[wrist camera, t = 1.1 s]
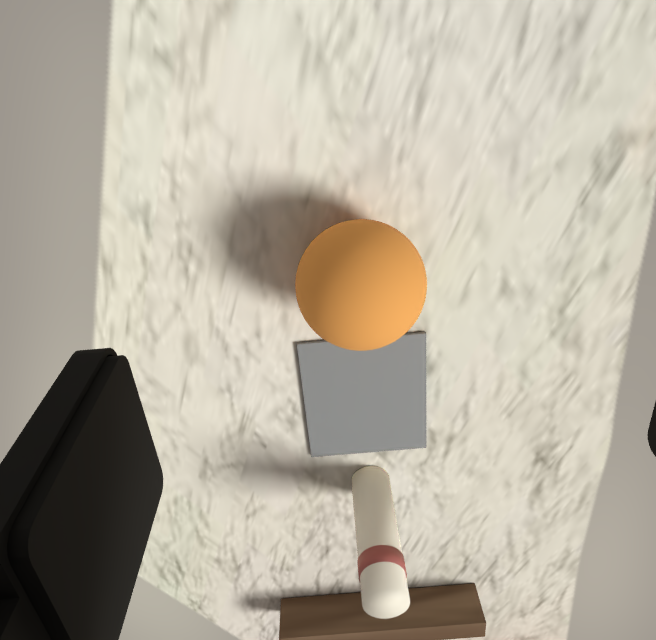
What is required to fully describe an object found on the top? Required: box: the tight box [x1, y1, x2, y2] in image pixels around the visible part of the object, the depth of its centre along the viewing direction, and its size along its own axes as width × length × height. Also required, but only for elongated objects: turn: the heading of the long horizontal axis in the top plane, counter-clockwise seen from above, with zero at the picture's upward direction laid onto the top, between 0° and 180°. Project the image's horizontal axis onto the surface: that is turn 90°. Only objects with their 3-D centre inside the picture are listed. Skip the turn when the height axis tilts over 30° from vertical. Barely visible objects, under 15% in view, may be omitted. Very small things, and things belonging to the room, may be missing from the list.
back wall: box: [279, 583, 486, 640], centre depth 40 cm, size 2×14×3 cm, turn 95°
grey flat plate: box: [297, 332, 426, 457], centre depth 33 cm, size 8×7×1 cm
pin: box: [351, 466, 410, 619], centre depth 32 cm, size 2×2×8 cm
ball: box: [295, 219, 427, 351], centre depth 26 cm, size 6×6×6 cm
